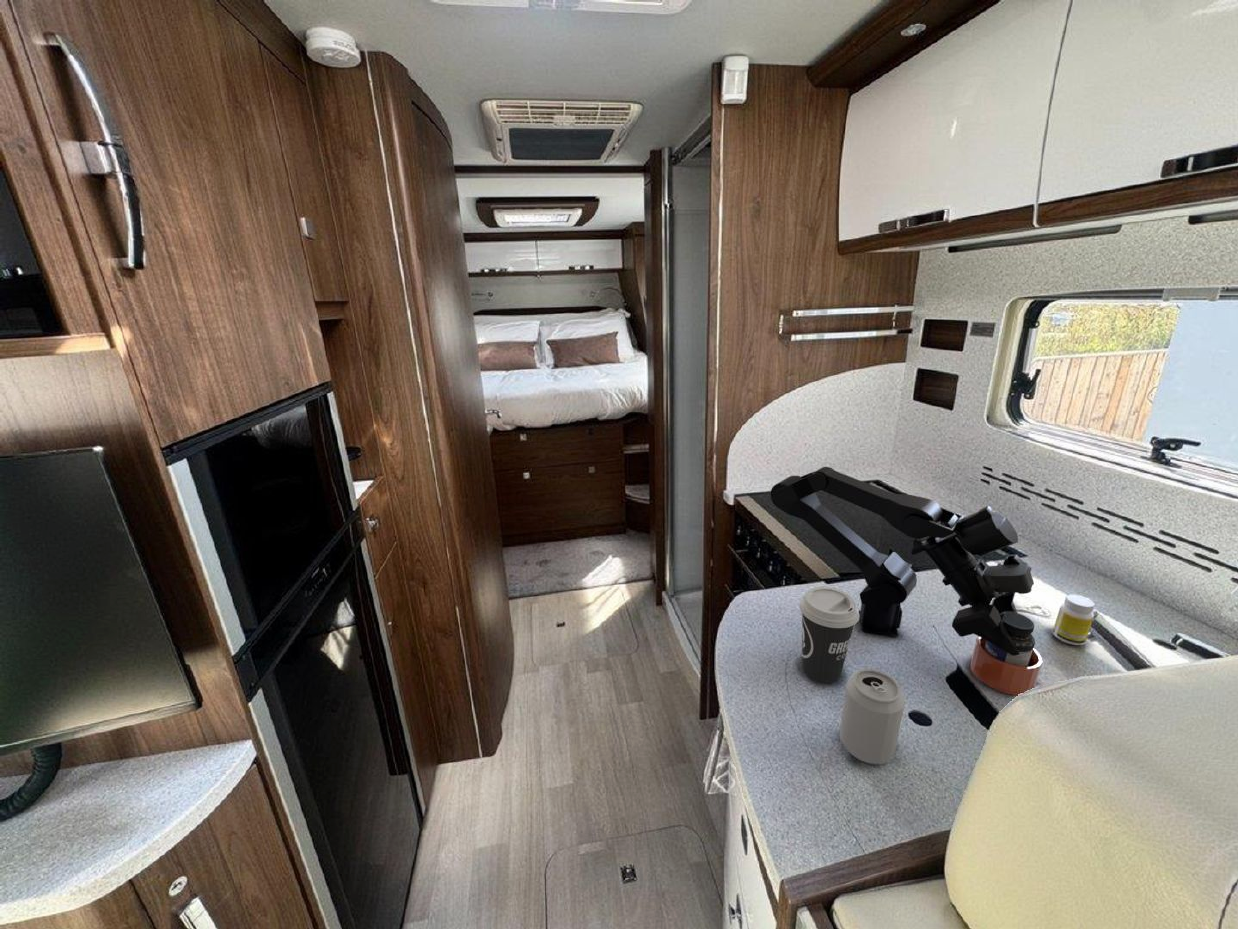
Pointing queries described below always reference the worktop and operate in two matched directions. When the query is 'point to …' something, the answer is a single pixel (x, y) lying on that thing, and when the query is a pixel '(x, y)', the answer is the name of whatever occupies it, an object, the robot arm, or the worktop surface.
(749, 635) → the worktop surface
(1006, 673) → the ceramic bowl
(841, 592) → the coffee cup
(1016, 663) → the pill bottle
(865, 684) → the can
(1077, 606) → the supplement bottle
